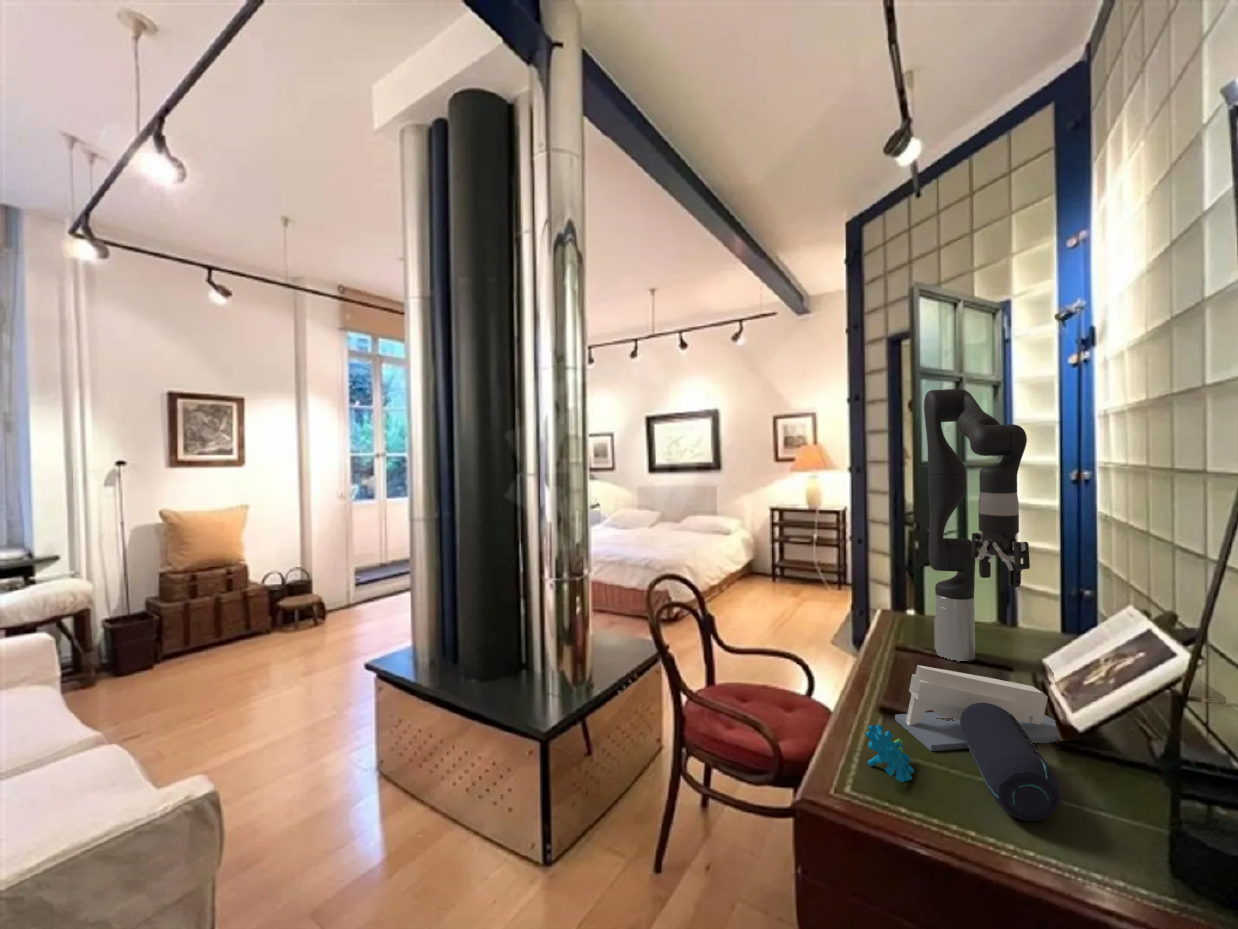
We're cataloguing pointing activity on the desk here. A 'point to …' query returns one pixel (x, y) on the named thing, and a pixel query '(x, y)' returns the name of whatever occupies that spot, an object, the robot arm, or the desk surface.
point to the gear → (889, 753)
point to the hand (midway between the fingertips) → (999, 582)
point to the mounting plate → (950, 735)
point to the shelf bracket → (970, 695)
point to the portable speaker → (1010, 763)
